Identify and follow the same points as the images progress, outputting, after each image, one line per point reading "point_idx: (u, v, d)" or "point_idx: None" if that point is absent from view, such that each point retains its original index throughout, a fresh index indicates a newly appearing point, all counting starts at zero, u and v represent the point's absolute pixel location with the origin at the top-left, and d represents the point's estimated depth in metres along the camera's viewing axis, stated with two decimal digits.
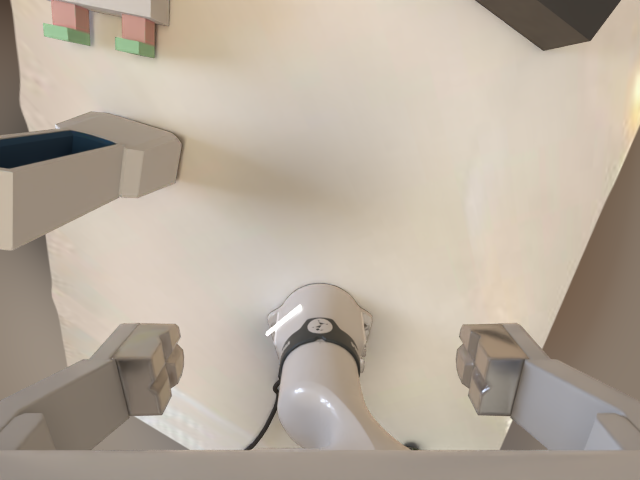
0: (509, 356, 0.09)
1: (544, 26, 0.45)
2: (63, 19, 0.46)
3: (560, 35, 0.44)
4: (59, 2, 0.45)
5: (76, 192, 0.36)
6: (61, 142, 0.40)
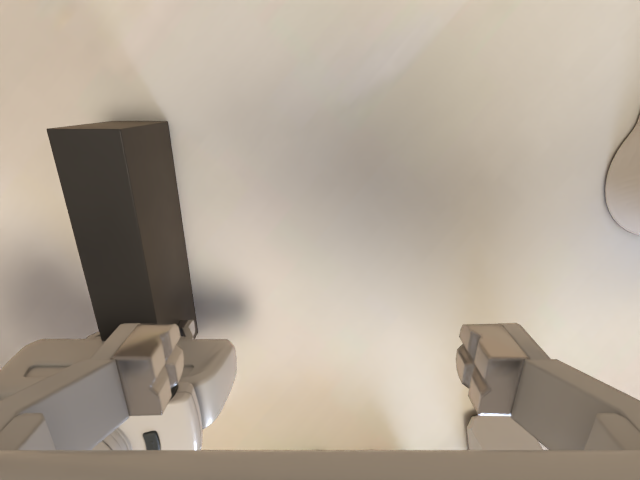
0: (509, 356, 0.09)
1: (149, 173, 0.33)
2: None
3: (142, 150, 0.32)
4: None
5: None
6: None
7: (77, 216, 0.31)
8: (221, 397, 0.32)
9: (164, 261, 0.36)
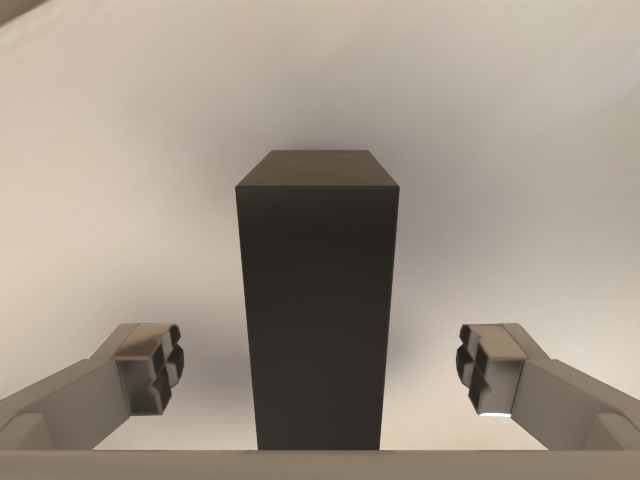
0: (509, 356, 0.09)
1: None
2: None
3: None
4: None
5: None
6: None
7: (266, 354, 0.15)
8: None
9: None
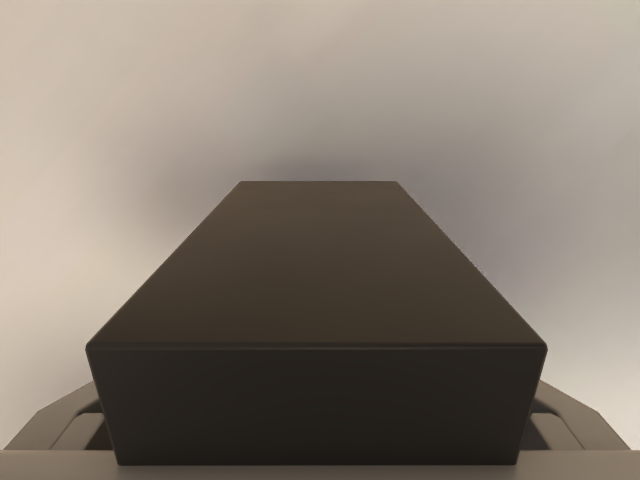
0: None
1: None
2: None
3: None
4: None
5: None
6: None
7: None
8: None
9: None
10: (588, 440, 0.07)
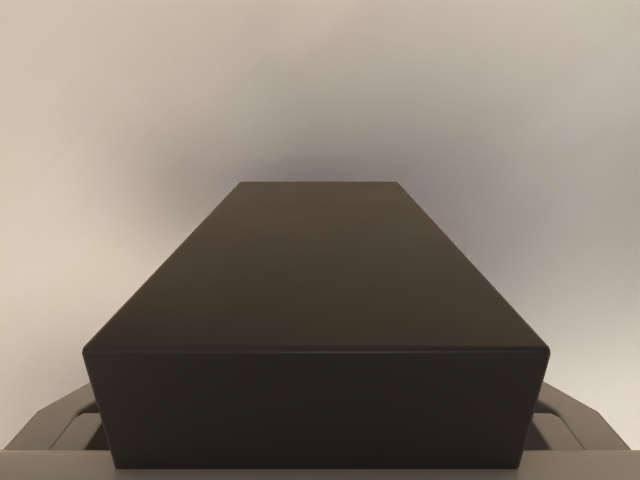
0: None
1: None
2: None
3: None
4: None
5: None
6: None
7: None
8: None
9: None
10: (588, 440, 0.07)
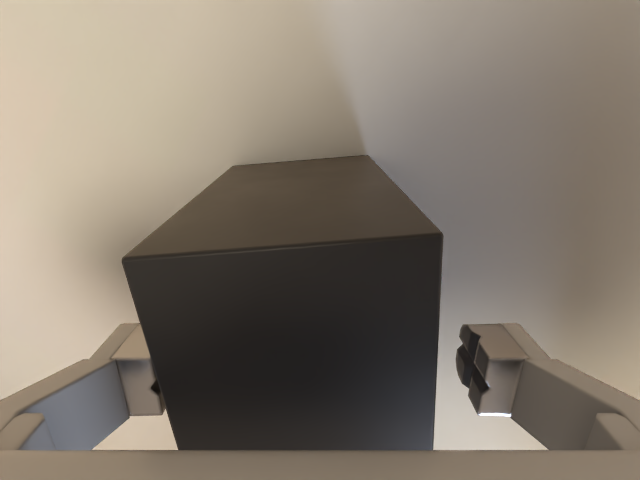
0: (509, 356, 0.09)
1: None
2: None
3: None
4: None
5: None
6: None
7: None
8: None
9: None
10: None
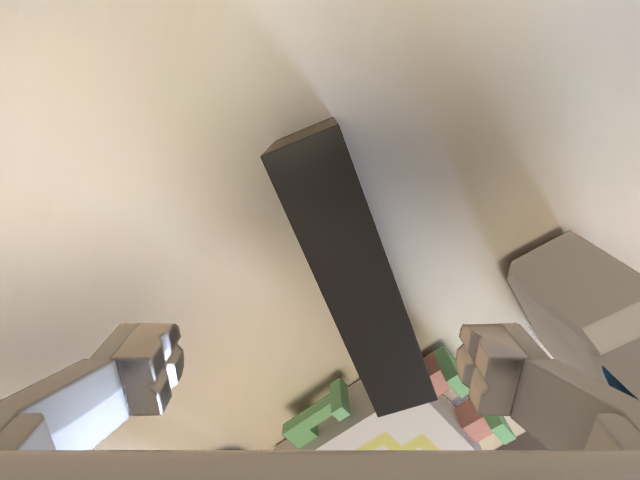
0: (509, 356, 0.09)
1: None
2: (483, 428, 0.41)
3: None
4: (471, 437, 0.42)
5: None
6: None
7: (309, 242, 0.27)
8: None
9: None
10: None
